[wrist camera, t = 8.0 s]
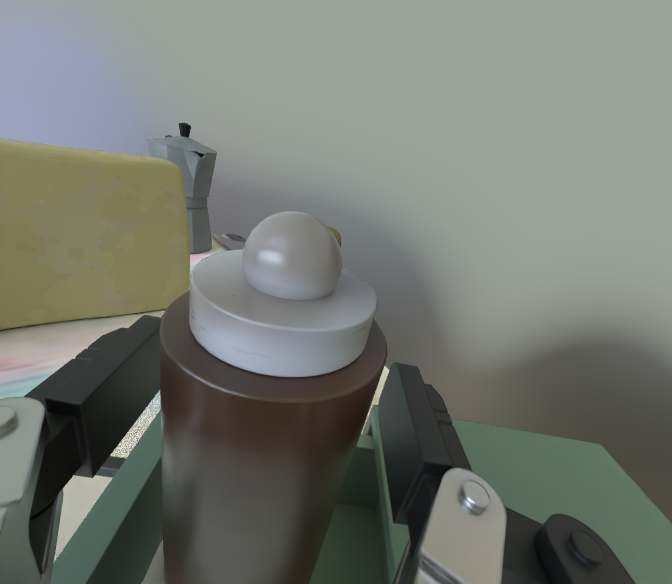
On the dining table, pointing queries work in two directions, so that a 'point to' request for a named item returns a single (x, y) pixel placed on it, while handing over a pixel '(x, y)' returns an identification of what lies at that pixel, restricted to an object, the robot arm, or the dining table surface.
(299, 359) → the pepper mill
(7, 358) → the dining table surface
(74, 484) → the dining table surface
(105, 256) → the cheese
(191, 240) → the coffeepot
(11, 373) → the dining table surface
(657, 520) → the cabinet
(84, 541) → the drawer
